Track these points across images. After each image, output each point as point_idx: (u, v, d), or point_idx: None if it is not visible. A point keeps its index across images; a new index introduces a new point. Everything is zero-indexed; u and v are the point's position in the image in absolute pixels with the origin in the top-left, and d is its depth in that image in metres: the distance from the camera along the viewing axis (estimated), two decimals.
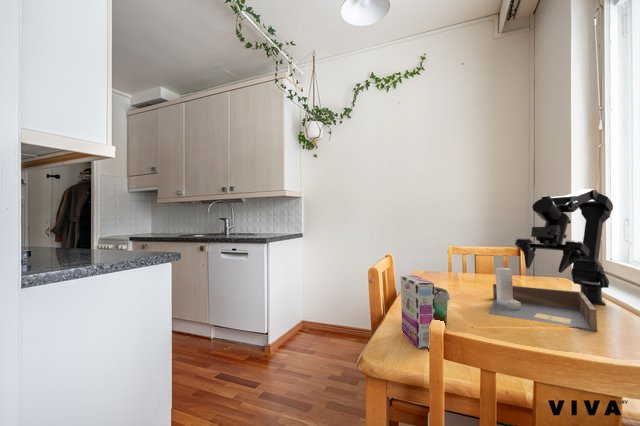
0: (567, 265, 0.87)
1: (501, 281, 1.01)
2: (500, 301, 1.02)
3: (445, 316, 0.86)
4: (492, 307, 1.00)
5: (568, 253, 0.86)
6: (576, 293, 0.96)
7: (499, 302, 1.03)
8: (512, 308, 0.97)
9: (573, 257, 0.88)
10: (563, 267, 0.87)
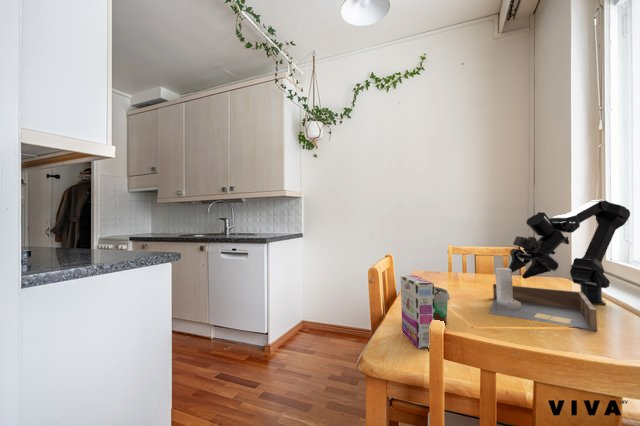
0: (533, 274, 0.97)
1: (501, 281, 1.01)
2: (500, 301, 1.02)
3: (445, 316, 0.86)
4: (492, 307, 1.00)
5: (534, 262, 0.96)
6: (576, 293, 0.96)
7: (499, 302, 1.03)
8: (512, 308, 0.97)
9: (542, 268, 0.96)
10: (527, 274, 0.97)
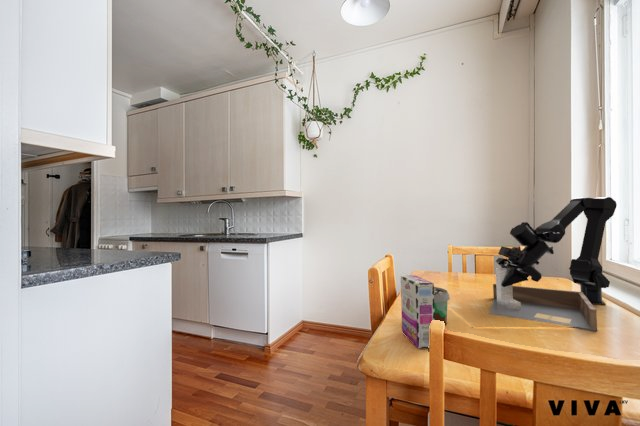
0: (512, 282, 1.00)
1: (501, 281, 1.01)
2: (500, 301, 1.02)
3: (445, 316, 0.86)
4: (492, 307, 1.00)
5: (512, 271, 0.99)
6: (576, 293, 0.96)
7: (499, 302, 1.03)
8: (512, 308, 0.97)
9: (520, 277, 0.99)
10: (506, 282, 1.00)
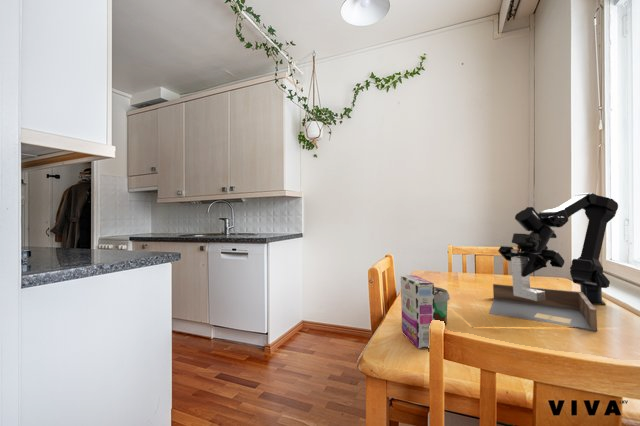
0: (531, 271, 0.94)
1: (521, 271, 0.94)
2: (520, 292, 0.94)
3: (445, 316, 0.86)
4: (492, 307, 1.00)
5: (533, 259, 0.93)
6: (576, 293, 0.96)
7: (518, 293, 0.95)
8: (539, 298, 0.90)
9: (538, 264, 0.94)
10: (527, 272, 0.93)
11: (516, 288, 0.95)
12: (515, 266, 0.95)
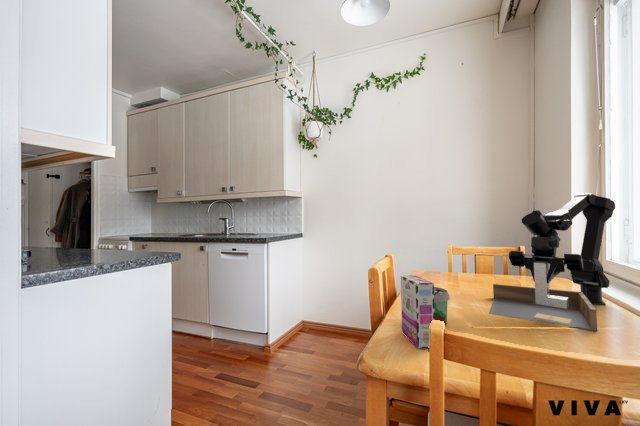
0: (553, 276, 0.89)
1: (546, 277, 0.88)
2: (544, 300, 0.88)
3: (445, 316, 0.86)
4: (492, 307, 1.00)
5: (555, 264, 0.88)
6: (576, 293, 0.96)
7: (541, 301, 0.88)
8: (567, 306, 0.85)
9: (557, 269, 0.90)
10: (550, 277, 0.88)
11: (539, 296, 0.89)
12: (539, 272, 0.89)
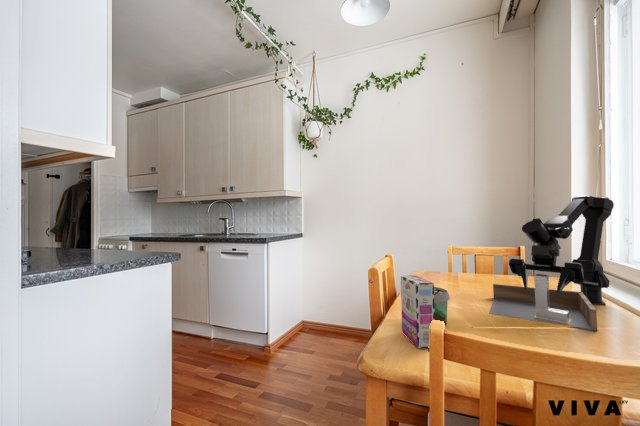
0: (563, 286, 0.87)
1: (547, 291, 0.88)
2: (545, 313, 0.88)
3: (445, 316, 0.86)
4: (492, 307, 1.00)
5: (566, 274, 0.86)
6: (576, 293, 0.96)
7: (542, 315, 0.88)
8: (567, 320, 0.85)
9: (567, 279, 0.88)
10: (561, 287, 0.86)
11: (540, 309, 0.89)
12: (539, 285, 0.89)
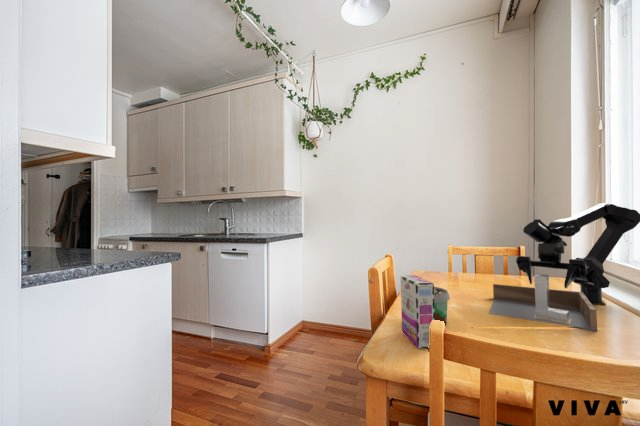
0: (570, 281, 0.93)
1: (547, 291, 0.88)
2: (545, 313, 0.88)
3: (445, 316, 0.86)
4: (492, 307, 1.00)
5: (572, 270, 0.92)
6: (576, 293, 0.96)
7: (542, 315, 0.88)
8: (567, 320, 0.85)
9: (574, 275, 0.94)
10: (568, 283, 0.92)
11: (540, 309, 0.89)
12: (539, 285, 0.89)
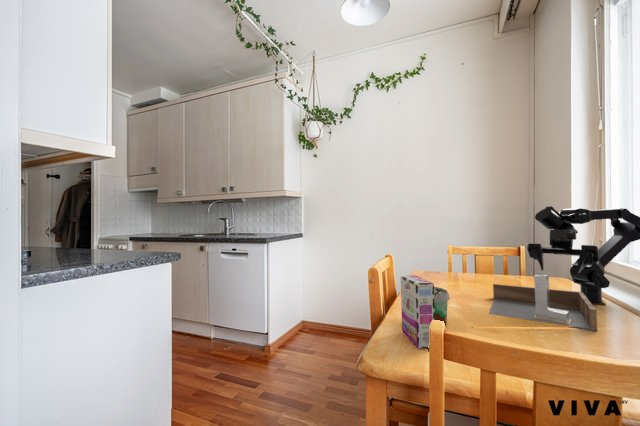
0: (582, 267, 0.93)
1: (547, 291, 0.88)
2: (545, 313, 0.88)
3: (445, 316, 0.86)
4: (492, 307, 1.00)
5: (585, 255, 0.92)
6: (576, 293, 0.96)
7: (542, 315, 0.88)
8: (567, 320, 0.85)
9: (586, 261, 0.94)
10: (580, 268, 0.92)
11: (540, 309, 0.89)
12: (539, 285, 0.89)
